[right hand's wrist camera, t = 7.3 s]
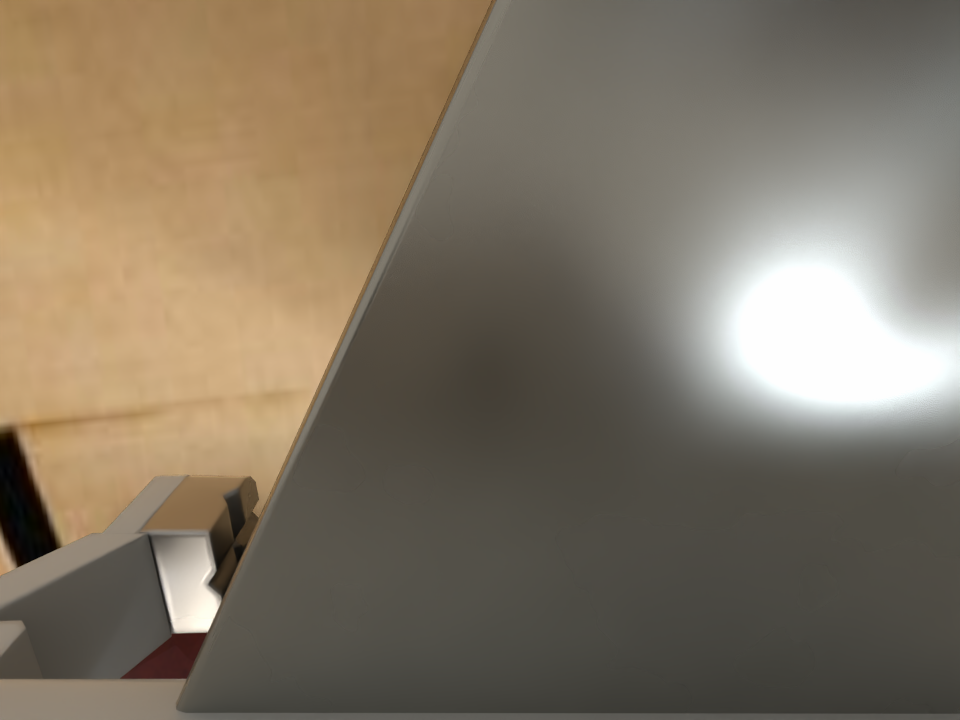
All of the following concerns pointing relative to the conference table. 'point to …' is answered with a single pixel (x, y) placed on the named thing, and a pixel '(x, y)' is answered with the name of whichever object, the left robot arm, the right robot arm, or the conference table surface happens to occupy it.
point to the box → (639, 386)
